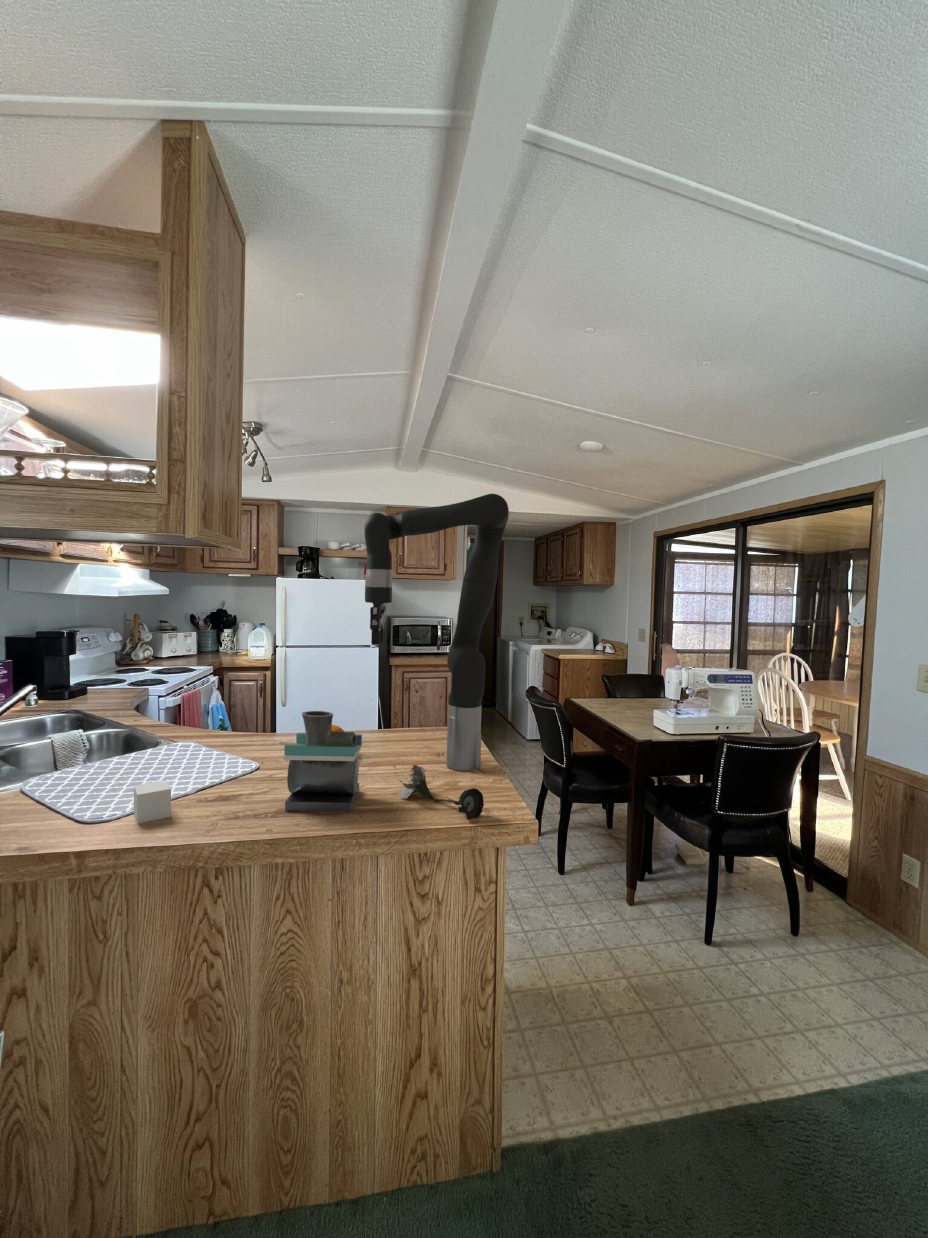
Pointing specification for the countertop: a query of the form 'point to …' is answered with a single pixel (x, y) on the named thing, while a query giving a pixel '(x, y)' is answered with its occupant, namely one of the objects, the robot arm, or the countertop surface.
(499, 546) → the robot arm
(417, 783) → the artificial flower
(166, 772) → the countertop surface
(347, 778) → the motor
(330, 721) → the pipe
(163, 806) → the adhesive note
